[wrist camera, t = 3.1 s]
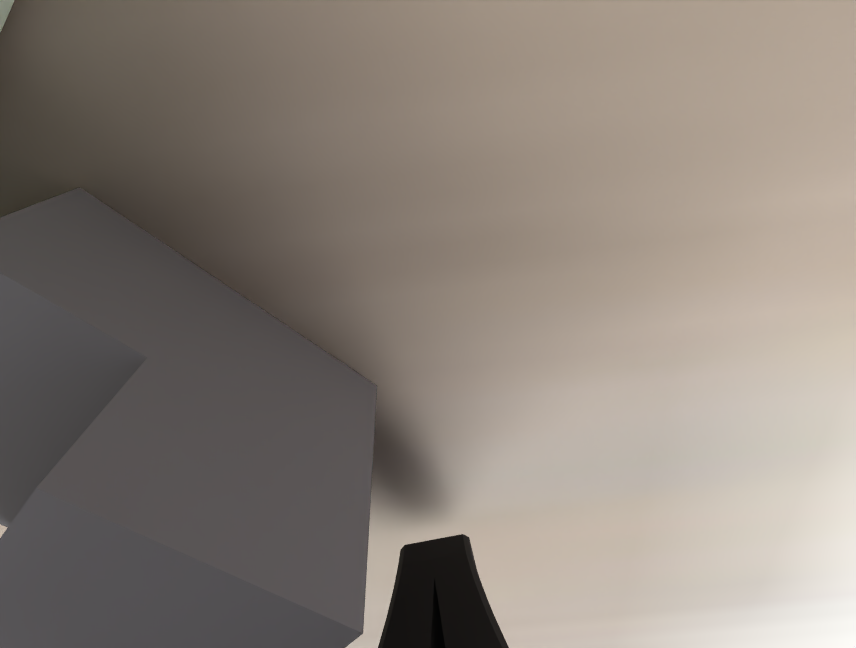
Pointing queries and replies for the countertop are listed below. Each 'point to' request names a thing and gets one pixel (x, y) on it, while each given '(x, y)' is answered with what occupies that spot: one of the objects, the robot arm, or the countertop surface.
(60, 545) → the grey faceted block
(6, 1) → the pale green bar
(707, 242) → the countertop surface
